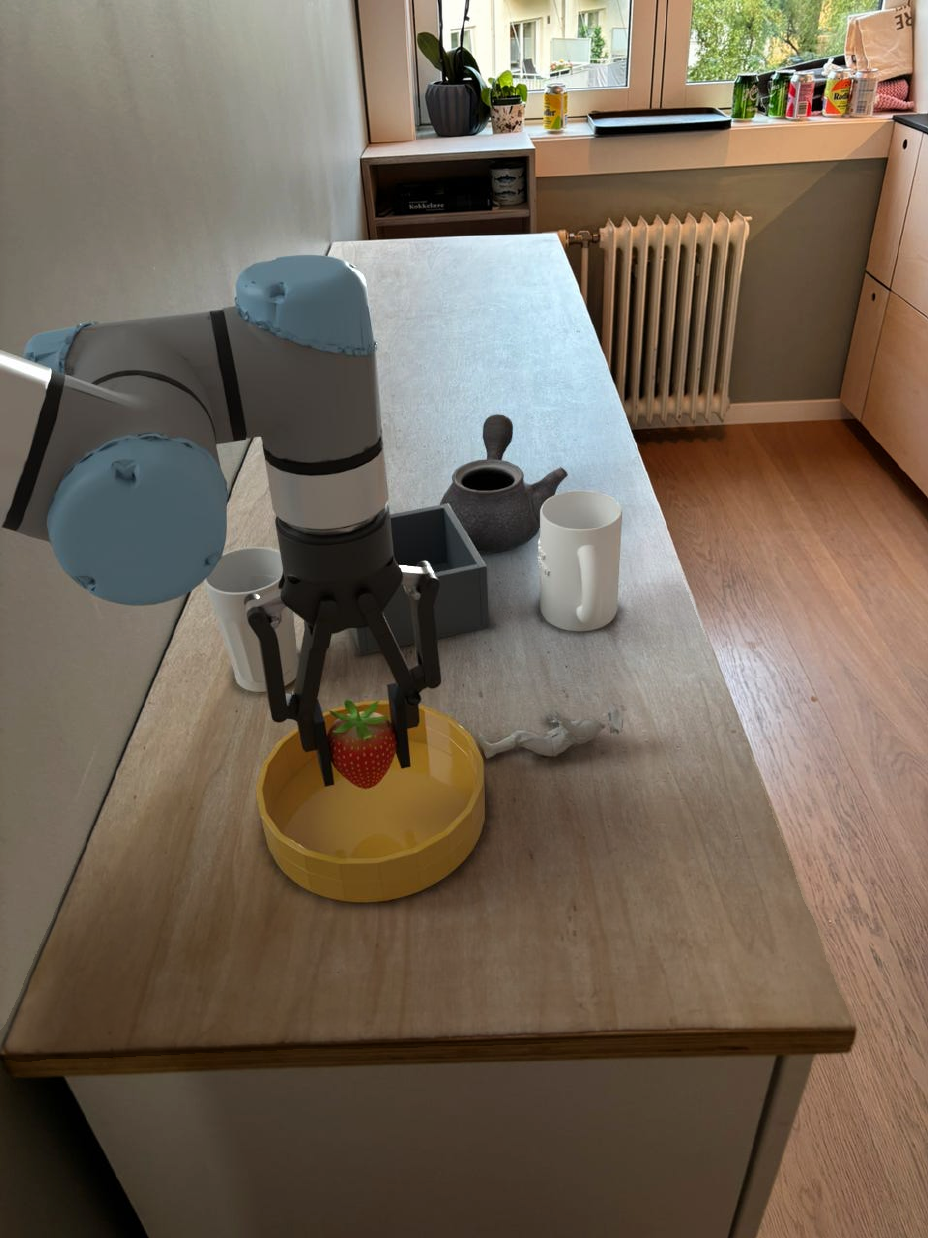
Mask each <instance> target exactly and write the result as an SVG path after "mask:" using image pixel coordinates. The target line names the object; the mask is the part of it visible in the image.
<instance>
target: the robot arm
mask: <svg viewBox="0 0 928 1238" xmlns="http://www.w3.org/2000/svg"><path fill="white" fill-rule="evenodd" d="M235 293H236V296H235V297H234V305H233V306H227V307H223V308H222V309H214V310H209V311H199V312H190V313H180V314H172V315H170V314H169V315H162V316H154V317H145V318H144V317H142V318H135V319H126V320H117V321H115V320H114V321H106V322H100V321H92V320H91V321H84V322H81V323H79V324H77V325H75V326H69V327H64V328H59V329H54V330H49V331H42V332H39V333H37V334H35V335H33V336H32V337H31V338H30V339H29V340H28V341H27V343H26V344H25V347H24V349H23V350H24V351H23V356H22V357H21V356H19V355H16V354H13V353H10V352H7V351H5V350H2V349H0V528H2V529H6V530H9V531H13V532H16V533H18V534H22V535H24V536H26V537H30V538H34V539H37V540H41V541H44V542H48V543H50V545H51V548H52V551H53V554H54V556H55V559H56V560H57V563H58V564H59V565H60V567H61V569H62V570H63V572H64V573H65V574H66V575H67V576H68V577H70V578H71V579H72V580H73V581H74V582H75V583H76V584H77V585H79V586H80V587H82V588H83V589H84V590H86V591H88V593H89V594H90V595H92V596H94V597H96V598H98V599H101V600H104V601H107V602H110V603H114V604H117V605H123V606H133V607H138V606H139V607H144V606H153V605H154V606H155V605H159V604H163V603H164V604H165V603H167V602H170V601H173V600H176V599H178V598H181V597H183V596H185V595H187V594H189V593H190V592H191V591H193V590H195V589H196V588H197V587H198V586H200V585H201V584H202V583H203V581H204V580H205V579H206V578H207V577H208V576H209V575H210V573H211V572H212V571H213V569H214V568H215V566H216V565H217V563H218V561H219V560H220V559H221V558H222V554H224V549H225V545H226V541H227V532H228V500H229V497H230V496H229V490H228V482H227V479H226V477H225V475H224V472H223V470H222V467H221V462H220V456H219V452H218V448H217V447H218V446H217V445H222V444H230V443H236V442H242V441H247V439H254V438H260V439H261V446H262V452H263V456H264V463H265V468H266V476H267V481H268V487H269V494H270V500H271V505H272V510H273V512H274V514H275V519H274V524H275V530H276V536H277V541H278V548H279V551H280V554H281V560H282V566H283V574H282V577H281V579H280V581H279V585H278V589H277V590H275V591H273V592H271V593H269V594H267V595H264V596H262V597H260V596H259V595H257V594H249V595H247V596H246V597H245V599H244V605H245V610H246V615H247V619H248V623H249V625H250V626H251V628H252V629H253V631H254V633H255V634H256V636H257V637H258V639H259V646H260V652H261V659H262V666H263V672H264V679H265V685H266V692H265V693H266V698H267V702H268V706H269V711H270V715H271V716H270V717H271V719H272V721H273V722H274V723H277V724H279V723H280V724H282V723H284V722H285V721H287V720H293V721H295V722H296V725H297V726H298V731H299V737H300V741H301V745H302V748H303V750H304V751H305V752H310V751H314V750H317V755H318V761H319V766H320V770H321V774H322V777H323V781H324V785H325V787H327V786H331V785H335V784H334V778H333V771H332V765H331V758H330V752H329V745H328V739H327V732H326V726H325V720H324V717H323V713H324V712H323V710H322V706H321V703H320V700H319V693H320V688H321V683H322V677H323V672H324V666H325V662H326V656H327V651H328V650H329V649H330V646H331V642H332V637H333V635H334V634H339V633H341V632H343V631H346V630H349V629H351V628H364V627H369V628H370V630H371V632H372V634H373V636H374V638H375V639H376V641H377V643H378V645H379V647H380V650H381V651H380V652H381V654H382V656H383V658H384V660H385V662H386V664H387V666H388V668H389V670H390V672H391V674H392V676H393V678H394V681H395V682H392V683H387V684H386V688H387V698H388V701H389V709H390V718H391V724H392V726H393V728H394V730H395V734H396V738H397V744H396V755H397V758H398V761H399V763H400V766H401V769H403V768H407V767H411V764H410V753H409V742H408V731H407V729H409V728H414V727H418V724H419V722H420V718H419V706H418V705H420V703H421V702H422V695H421V692H422V691H424V690H425V689H427V688H428V689H431V690H433V689H436V688H438V687H440V685H441V684H442V674H441V663H440V654H439V646H438V645H439V644H438V639H437V634H436V624H435V614H434V603H435V600H436V597H437V593H438V590H439V587H440V583H439V580H438V578H437V576H436V574H435V572H434V571H433V569H432V567H431V565H430V563H429V562H427V561H421V562H418V563H417V564H416V566H415V567H411V566H400V565H399V563H398V561H397V560H396V559H395V557H394V553H393V542H392V531H391V520H390V514H391V511H390V507H389V504H388V501H389V487H388V477H387V468H386V457H385V447H384V446H385V445H384V441H383V440H384V439H383V428H382V427H383V426H382V415H381V412H382V411H381V402H380V401H381V400H380V388H379V387H380V386H379V374H378V361H377V350H378V342H377V341H376V340H375V335H374V328H373V322H372V314H371V308H370V299H369V292H368V286H367V280H366V278H365V276H364V274H363V273H361V272H360V271H359V270H358V269H357V267H356V266H355V265H353V264H352V263H351V262H348V261H346V260H344V259H341V258H338V257H334V256H329V255H322V254H296V255H286V256H285V255H284V256H279V257H278V256H277V257H276V258H275V259H272V260H265V261H264V260H263V261H259V262H256V263H253V264H251V265H249V266H248V267H246V268H245V269H243V270H242V271H241V273H240V274H238V277H237V278H236V282H235ZM400 584H402V585H403V587H404V589H405V591H406V594H407V596H408V597H410V605H411V614H412V622H413V630H414V638H415V644H414V645H415V654H416V655H415V656H416V663H417V665H416V666H413V667H411V668H410V667H409V666H408V664H407V661H406V659H405V657H404V655H403V653H402V650H401V647H399V646H398V644H397V642H396V640H395V638H394V636H393V633H392V631H391V629H390V627H389V625H388V623H387V621H386V618H385V616H384V614H383V610H384V609H385V607H386V606H387V604H388V603H389V601H390V600H391V598H392V597H393V595H394V593H395V592H396V590H397V589H398V587H399V586H400ZM286 606H287V607H288V608H289V609H290V610H292V611H293V614H295V615H297V617H299V618H300V619H302V620H303V628H304V629H303V634H302V641H301V646H300V653H299V657H298V660H299V664H298V669H297V675H296V678H295V682H294V687H293V691H292V690H291V691H290V693H286V686H284V679H283V671H282V664H281V657H280V649H279V643H278V638H277V634H276V630H275V628H277V627H278V626H279V624H280V623H281V621H282V617H281V611H282V609H283V608H285V607H286Z"/></svg>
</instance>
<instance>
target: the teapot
mask: <svg viewBox="0 0 928 1238" xmlns="http://www.w3.org/2000/svg"><path fill="white" fill-rule="evenodd" d="M513 435H514V424H513V421H512V420H511V418H509V417H508V416H506V415H505V414H500V413H499V414H498V413H495V414H491V415H489V416H488V417H486V418H485V420H484V422H483V424H482V440H483V444H484V447H485V450H486V459H478V460H472V461H470V462H467V463H465V464H462V465H460V466H459V467H458V468H456V469H455V470H454V471H453V473H452V476H451V481H452V483H451V484H450V485H449V486H448V488H447V489H446V491H445V493H444V494H443V496H442V498H441V500H440V502H439V505H442V504H449V505H450V507H451V509H452V510H453V512H454V514H455V515H456V517H457V518H458V520H459V522H460V523H461V525H462V527H463V528H464V530H465V532H466V533H467V535H468V537H469V538H470V540H471V541H472V543H473V545H474V546H475V548H476V550H477V551H478V553H479V552H480V553H492V552H493V553H494V552H503V551H504V552H505V551H507V550H511V549H515V548H518V547H521V546H523V545H525V544H527V543H528V542H529V541H531V540H532V539H533V538H534V537H535V536H536V535H537V534H538V532H540V510H541V507H542V505H543V504H544V502H545V501H546V500H547V499H549V498H550V497H552V496H554V495H556V493H557V490H558V487H559V485H560V484H561V483H562V482H563V481H564V480H565V479H566V478H567V477H569V474H568V471H567V470H565V469H564V468H563V467H561V466H559V467H558V468H555V469H553V470H552V471H550V472H549V473H548V474H546V475H545V476H544V477H542V478H541V479H540V480H539V481H536V482H533V483H527V482H525V480H524V479H525V473H524V472H523V470H522V468H520V467H519V466H518V465H516V464H514V463H512V462H510V461H507V460H503V456H504V454H505V452H506V451H507V449H508V447H509V446H510V445H511V443H512V441H513Z"/></svg>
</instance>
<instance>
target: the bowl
mask: <svg viewBox="0 0 928 1238" xmlns="http://www.w3.org/2000/svg"><path fill="white" fill-rule="evenodd" d="M377 701H378V700H364V701H360V702H354V703H353V704H354V705H356V707H357V706H358V709H359V712H362V711H365V710H366V709H367V708H368V707H369V706H371V705H372V704H374V703H375V702H377ZM418 706H419V718H420V722H419V724H418V727H414V728H409V729H407V731H408V742H409V753H410V764H411V767H407V768H403V769H401V766H400V763H399V761H398V758H397V755H396V752H395V755H394V758H393V761H392V763H391V765H390V768H389V769H388V771H387V773H386V774H385V776H384V777H383V778H382V780H381V781H380V782H379V783H378V784H377V785H376V786H374V787H372V788H369V789H362V788H359V787H357V786H355V785H353V784H352V783H351V782H349V781H348V780H347V779H346V778H345V777H344V776H342V775H341V774H340V773H339V772H338V771H337V769H336V768H335V767H334V765H333V764H332V762H331V765H332V771H333V778H334V784H335V785H331V786H327V787H325V785H324V781H323V777H322V774H321V770H320V766H319V761H318V755H317V750H314V751H310V752H305V751H304V750H303V748H302V745H301V741H300V737H299V731H298V725H297V726H296V727H295V728H294V729H293V730H291V731H290V732H288V733H287V734H286V735H285V736H283V737H282V738H281V739H279V741H278V742H276V744H275V746H274V747H273V748H272V750H271V752H270V753H268V754H269V755H268V756H267V757H266V759H265V760H264V762H263V763H262V765H261V769H260V773H259V777H258V780H257V784H256V787H255V794H256V800H257V805H258V809H259V815H260V819H261V823H262V827H263V832H264V836H265V840H266V844H267V848H268V851H269V852H270V854H271V856H272V858H273V860H274V862H275V863H276V865H277V866H278V867H279V868H280V870H281V871H282V872H283V873H284V874H285V875H286V876H287V877H288V878H289V879H290V880H291V881H293V882H294V883H296V884H297V885H298V886H300V887H301V888H302V889H305V890H307V891H309V892H310V893H313V894H315V895H318V896H321V897H323V898H327V899H331V900H336V901H340V902H349V903H378V902H386V901H391V900H396V899H400V898H405V897H407V896H410V895H413V894H417V893H419V892H421V891H423V890H425V889H427V888H430V887H433V886H434V885H435V884H437V883H439V882H440V881H442V880H444V879H446V877H448V876H449V875H450V874H451V873H453V872H454V871H455V870H456V869H457V868H459V867H460V865H461V864H463V862H464V861H466V859H467V858H468V857H469V855H470V854H471V852H472V851H474V848H475V846H476V844H477V843H478V841H479V839H480V836H481V833H482V831H483V828H484V823H485V820H486V790H485V768H484V759H483V756H482V753H481V752H480V750H479V747H478V745H477V743H476V742H475V739H474V737H473V736H472V735H471V734H470V732H468V731H467V730H466V729H465V728H464V727H463V726H462V725H461V724H459V722H457V721H456V719H454V718H453V717H451V716H449V715H446V714H445V713H442V712H440V711H438V710H436V709H434V708H432V707H429V706H427V705H423V704H418ZM329 710H330V711H333V712H336V713H340V714H346V715H347V714H349V713H348V711H347V710H346V708H345V705H342V706H341V705H340V706H337V707H333V708H330V709H328V710H326V711H324V712H322V713H323V717H324V720H325V726H326V732H327V735H328V731H329V729H330V727H331V726H332V724H333V723H334V722H335V721H336V720H337V719H338V718H336V717H335V716H333V715H332V714H331V713H330V712H329ZM375 713H379V714H381V715H383V716H388V717H387V719H388V720H389V722H390V723H391V718H390V709H389V700H379V702H378V706H377V709H376V710H375Z"/></svg>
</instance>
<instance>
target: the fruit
mask: <svg viewBox="0 0 928 1238" xmlns="http://www.w3.org/2000/svg"><path fill="white" fill-rule="evenodd" d="M376 701H377V702H375V703H374V704H372V705H371V706H369V707H368V708H367V709H366V710H365V711H362V712H359V709H358V706H357V707H356V705H354V703H353V701H351V700H350V699H347V698H345V699H344V706H345V708H346V710H347V711H348V713H349V714H347V715H346V714H340V713H336V712H333V711H330V709H328V710H329V712H330V713H331V714H332V715H333V716H335V717H336V718H338V719H337V720H336V721H335V722H334V723H333V724H332V726H331V727H330V729H329V731H328V735H327V739H328V745H329V752H330V758H331V762H332V764H333V765H334V767H335V768H336V769H337V771H338V772H339V773H340V774H341V775H342V776H344V777H345V778H346V779H347V780H348V781H349V782H351V783H352V784H353V785H355V786H357V787H359V788H362V789H369V788H372V787H374V786H376V785H377V784H378V783H379V782H380V781H381V780H382V778H383V777H384V776H385V774H386V773H387V771H388V769H389V768H390V765H391V763H392V761H393V758H394V755H395V752H396V744H397V738H396V734H395V730H394V728H393V726H392V724H391V723H390V722H389V720H388V719H387V717H388V716H383V715H381V714H379V713H375V710H376V709H377V706H378V702H379V701H380V699H378V700H376Z"/></svg>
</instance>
